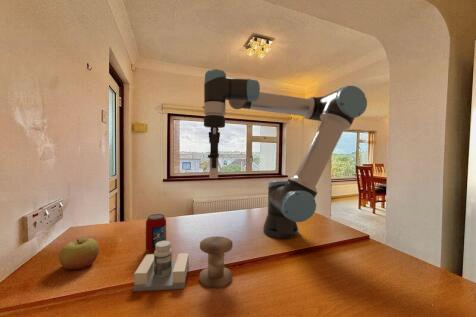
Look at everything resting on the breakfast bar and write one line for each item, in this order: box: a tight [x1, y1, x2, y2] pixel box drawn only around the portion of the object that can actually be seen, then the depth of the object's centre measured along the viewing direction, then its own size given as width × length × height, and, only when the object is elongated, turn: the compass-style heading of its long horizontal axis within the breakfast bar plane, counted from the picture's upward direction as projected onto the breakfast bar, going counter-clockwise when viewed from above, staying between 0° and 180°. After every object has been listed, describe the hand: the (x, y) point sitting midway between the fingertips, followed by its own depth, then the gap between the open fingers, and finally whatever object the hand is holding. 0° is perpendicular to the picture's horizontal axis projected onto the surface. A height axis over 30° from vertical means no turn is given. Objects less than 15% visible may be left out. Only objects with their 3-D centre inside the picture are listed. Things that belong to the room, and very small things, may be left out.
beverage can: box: [145, 213, 167, 254], centre depth 77 cm, size 7×7×12 cm
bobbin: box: [199, 236, 233, 289], centre depth 60 cm, size 9×9×10 cm
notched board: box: [132, 252, 190, 292], centre depth 61 cm, size 12×12×4 cm
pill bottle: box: [153, 240, 173, 277], centre depth 60 cm, size 5×5×8 cm
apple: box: [58, 237, 100, 271], centre depth 65 cm, size 10×10×8 cm
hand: (213, 175), depth 77 cm, fingers open, 13 cm apart
